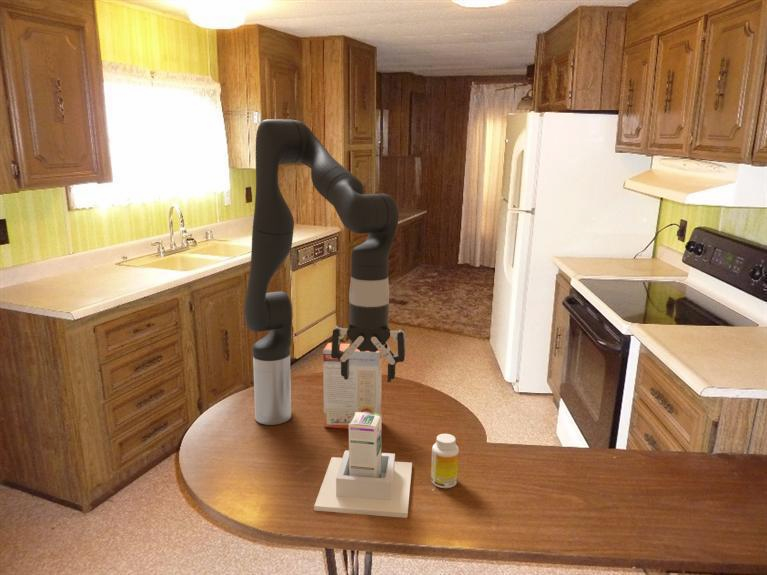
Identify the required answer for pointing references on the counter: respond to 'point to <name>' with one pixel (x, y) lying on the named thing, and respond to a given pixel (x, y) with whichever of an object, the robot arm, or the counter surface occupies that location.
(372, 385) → the cracker box
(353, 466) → the syrup box
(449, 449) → the supplement bottle
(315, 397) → the counter surface
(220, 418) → the counter surface
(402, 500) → the sleeve holder
